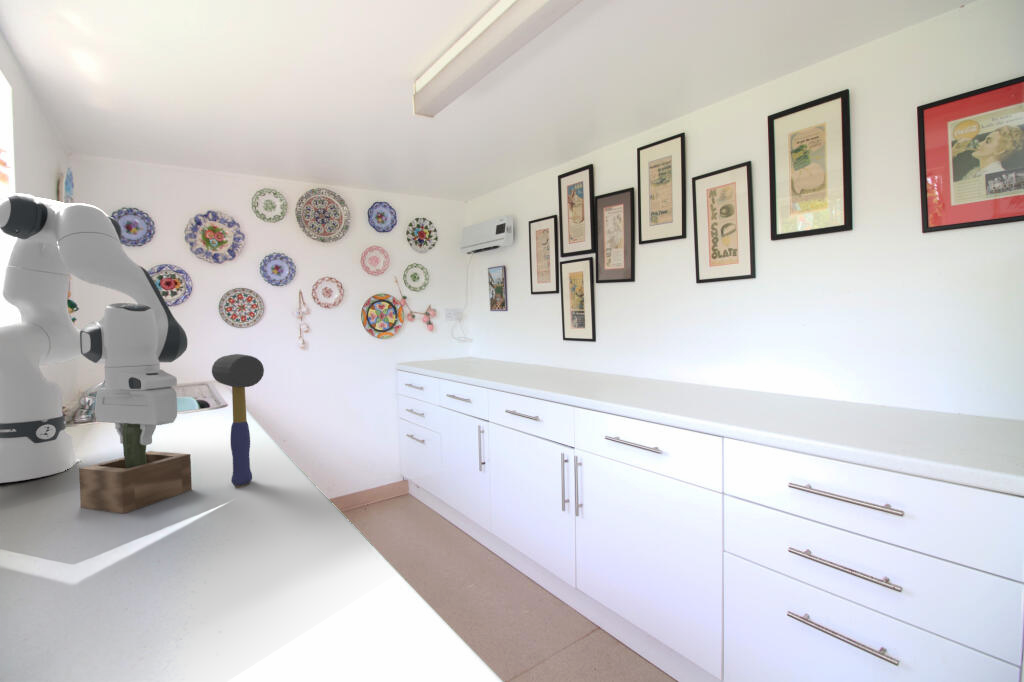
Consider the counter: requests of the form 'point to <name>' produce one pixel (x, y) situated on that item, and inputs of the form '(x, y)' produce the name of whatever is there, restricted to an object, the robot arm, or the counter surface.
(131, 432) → the vegetable
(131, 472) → the socket block
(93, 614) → the counter surface
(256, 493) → the counter surface
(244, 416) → the rubber mallet
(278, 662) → the counter surface
